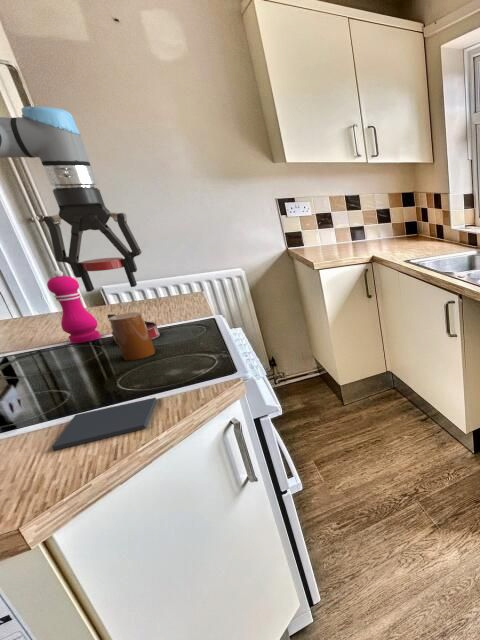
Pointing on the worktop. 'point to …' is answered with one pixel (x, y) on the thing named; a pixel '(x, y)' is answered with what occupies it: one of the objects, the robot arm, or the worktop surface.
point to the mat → (106, 423)
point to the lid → (102, 264)
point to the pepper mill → (73, 309)
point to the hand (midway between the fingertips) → (112, 288)
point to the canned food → (150, 327)
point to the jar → (132, 336)
